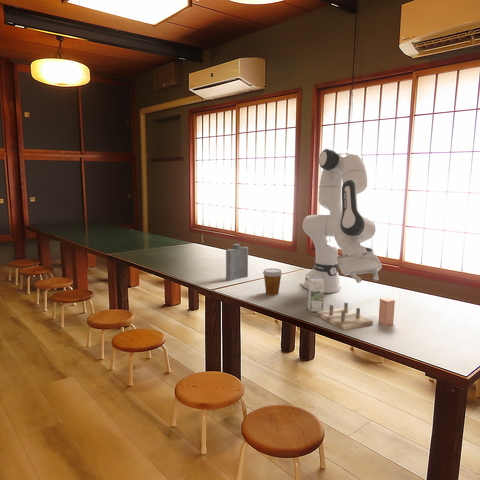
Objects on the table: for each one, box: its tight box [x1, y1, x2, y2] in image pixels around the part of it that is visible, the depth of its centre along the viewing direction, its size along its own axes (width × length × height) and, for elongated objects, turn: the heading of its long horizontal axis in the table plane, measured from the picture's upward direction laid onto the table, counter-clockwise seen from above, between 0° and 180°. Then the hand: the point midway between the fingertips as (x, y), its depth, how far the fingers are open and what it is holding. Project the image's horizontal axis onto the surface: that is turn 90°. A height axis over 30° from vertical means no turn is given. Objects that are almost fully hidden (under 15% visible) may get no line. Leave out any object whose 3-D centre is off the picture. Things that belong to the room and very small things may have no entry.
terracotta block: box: [378, 297, 396, 326], centre depth 164 cm, size 4×4×10 cm
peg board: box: [316, 302, 374, 331], centre depth 168 cm, size 18×14×6 cm
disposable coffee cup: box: [262, 267, 283, 296], centre depth 204 cm, size 10×10×12 cm
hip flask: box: [225, 243, 249, 282], centre depth 233 cm, size 16×4×20 cm, turn 133°
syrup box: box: [307, 277, 325, 313], centre depth 179 cm, size 6×6×14 cm
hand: (368, 280), depth 172 cm, fingers open, 8 cm apart
